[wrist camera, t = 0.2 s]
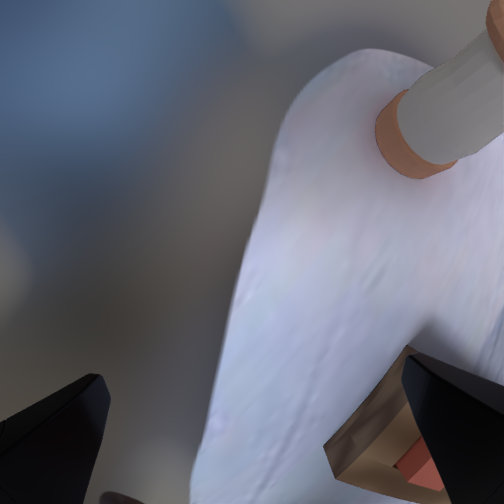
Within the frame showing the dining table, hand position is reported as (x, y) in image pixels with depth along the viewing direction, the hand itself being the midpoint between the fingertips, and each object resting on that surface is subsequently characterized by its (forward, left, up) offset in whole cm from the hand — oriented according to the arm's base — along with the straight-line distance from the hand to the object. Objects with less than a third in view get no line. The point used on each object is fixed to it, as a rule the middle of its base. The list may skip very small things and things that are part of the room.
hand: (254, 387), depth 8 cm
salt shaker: (+19, -4, -16) cm, 25 cm away
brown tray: (-2, -27, -15) cm, 31 cm away
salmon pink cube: (-2, -21, -11) cm, 24 cm away
